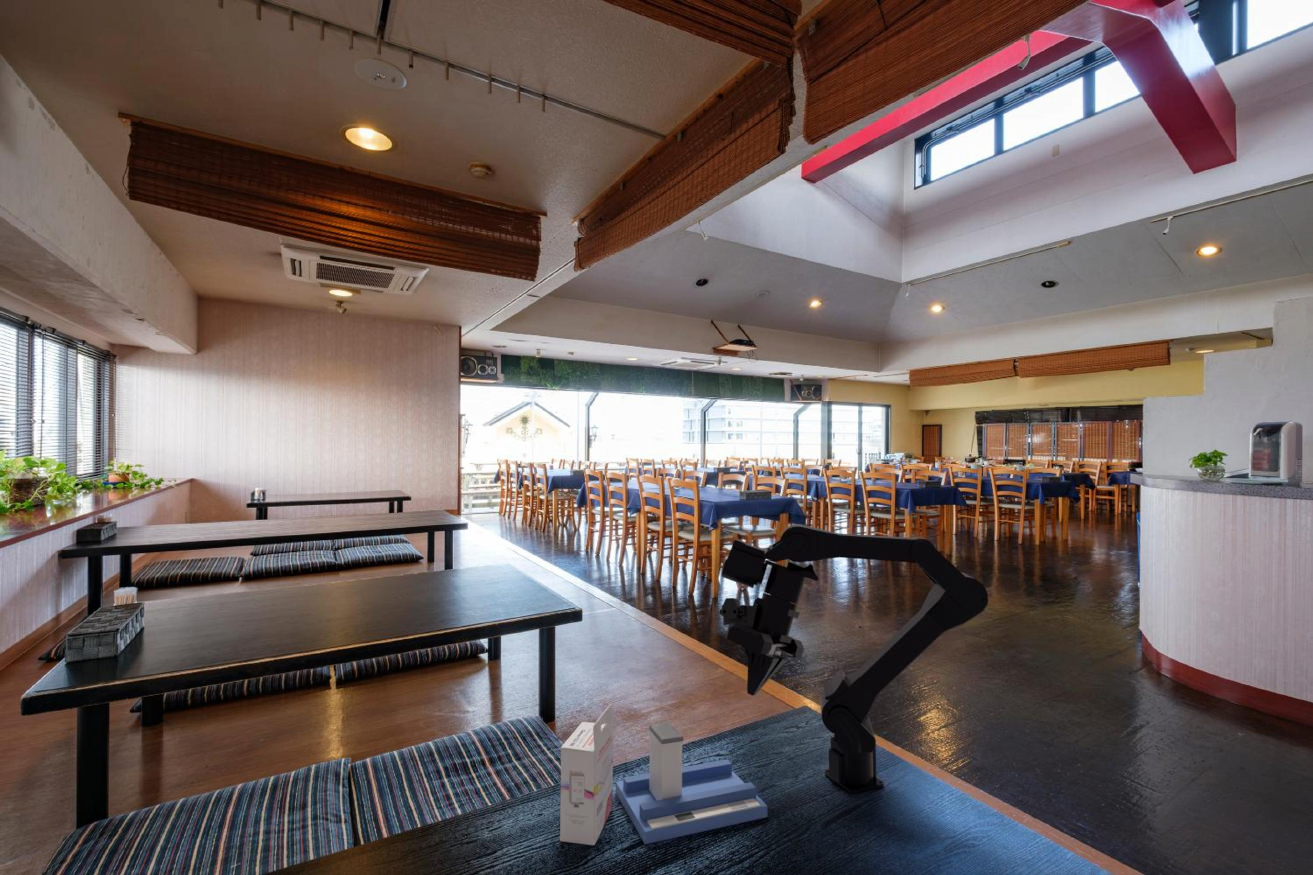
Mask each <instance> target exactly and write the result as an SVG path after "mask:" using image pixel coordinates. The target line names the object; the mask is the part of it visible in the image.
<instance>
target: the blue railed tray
mask: <svg viewBox="0 0 1313 875" xmlns="http://www.w3.org/2000/svg"><path fill="white" fill-rule="evenodd" d="M622 779H623V780H620V781H619V780H618V781H615V793H616V795H617V797H618V800H619V801H620V803H621V805H622V806H623V808H624V810H625V812H626V814H627V815H628V817H629V819H630V821H631V822H632V824H633V827H634V828H635V830H636V831H637V833H638V835H639V836H640V839H641V840H642V842H643V844H644V845H647V844H652V843H658V842H662V841H666V840H671V839H676V838H679V837H684V836H689V835H692V834H698V833H702V832H706V831H711V830H714V829H715V830H716V829H719V828H724V827H729V826H733V825H738V824H742V823H746V822H751V821H752V822H753V821H756V820H760V819H764V818H765V819H766V818H767V817H768V805H767V804H766V803H765V802H764V801H763V800H762V799H761V798H760V797H759V796H758V795H757V786H755V784H753V782H751V781H750V782H744V780H742V779H741V778H740V777H739V776H738V775H737V774H736V773H735V772H734V771H733V764H732V762H731V761H730V760H728V759H721V760H720V759H719V760H715V761H709V762H705V763H699V764H694V765H687V766H682V796H678V797H673V798H668V799H663V800H658V801H657V800H656V799H655V797H654V796H653V794H652V793H651V791H650V790H649V772H648V773H641V774H637V775H636V774H635V775H632V776H631V775H629V776H626V777H623V778H622Z"/></svg>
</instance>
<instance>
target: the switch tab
mask: <svg viewBox="0 0 1313 875" xmlns="http://www.w3.org/2000/svg"><path fill="white" fill-rule="evenodd" d="M648 729H649V762H648V763H649V767H648V768H649V772H648V773H649V790H650V791H651V793H652V794H653V796H654V797H655V799H656V800H657V801H658V800H663V799H668V798H673V797H678V796H682V767H683V741H684V735H682V733H681V732H679V730H678V729H677V728H676V727H675V726H674V725H673V724H672V723H671V722H670V721H667V722H659V723H653V724H652V723H651V724H648Z"/></svg>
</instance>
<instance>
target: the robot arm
mask: <svg viewBox="0 0 1313 875" xmlns="http://www.w3.org/2000/svg"><path fill="white" fill-rule="evenodd" d="M837 558H843V559H844V558H845V559H855V560H856V559H857V560H870V561H871V560H872V561H883V562H884V561H887V562H900V563H913V564H915V565H916V566H917V567H918V568H919V569H920V570H921V571H922V572H923V573H924V575H926V577H927V578H928V579H929V580H930V581H931V582H932V583H933V584H934V585H933V586H932V588H931V589H930V590H929V592H928V594H927V596H926V599H925V600H924V602H923V604H922V607H921V608H920V609H919V611H917V613H916V614H914V616H912V618H911V619H909V621H907V622H906V623H905V624H904V625H903V626H902V627H901V628H900V629H899V630H898V631H897V632H896V633H895V634H894V635H893V636H891V638H890V639H889V640H888V641H886V643H885V644H883V645H882V646H881V647H880V649H878V650H877V651H876V652H875V653H874V654H873V655H872V656H871V657H870V658H869V659H868V660H867V661H866V662H865V663H864V664H862V666H861V667H860V668H858V669H857V670H855V671H853V672H851V673H848V674H846V673H845V672H844V670H843V669H842V668H839V669H838V670H837V671H836V673H835V674H834V675H833V676H832V678H831V679H829V680H828V681H826V682H823V683H822V687H823V690H822V691H821V693H820V698H819V702H820V715H821V720H822V722H823V725H824V727H825V728H826V729H827V730H828V731H829V732H831V734H833V735H834V736H831V737H830V748H828V769H827V768H826V769H825V770H824V775H826V776H827V777H828V778H829V779H831V780H832V781H833V782H835V783H836V784H838V786H840V787H841V788H842V789H844V790H846V791H847V793H850V794H856V793H860V792H864V791H865V792H866V791H869V790H873V789H879V788H883V787H885V782H884V781H883V780H881V779H880V778H879V777H877V740H876V736H875V733H874V730H873V726H872V723H871V720H870V717H869V713H870V711H871V709H872V707H873V705H874V703H875V701H876V699H877V697H878V696H879V694H881V693H882V691H883V690H884V689H886V688H887V687H888V686H889V685H890V684H892V683H893V681H894V680H895V679H896V678H897V677H898V676H899V675H900V674H902V673H903V672H904V671H905V670H906V669H907V668H908V667H910V665H911V664H912V663H913V662H914V661H915V660H917V658H919V656H920V655H922V654H923V653H924V652H925V651H926V650H927V649H928V648H929V647H930V646H931V645H932V644H933V643H934V642H935V641H936V640H937V639H939V637H941V635H943V634H944V633H946V632H948V631H949V630H952V629H955V628H958V627H960V626H962V625H965V624H966V623H968V622H969V621H971V620H972V619H974V618H976V617H977V616H979V615H980V614H981V613H984V611H985V609H986V608H987V607H988V605H989V594H988V591H987V589H986V587H985V586H984V584H983V583H982V582H980V581H979V580H978V579H976V578H975V577H972V576H970V575H969V574H966V573H965V572H962V571H960V569H958V568H957V567H956V566H955V565H954V564H953V563H951V561H950V560H948V558H946V557H945V556H944V555H943V554H942V553H941V552H940V551H938V549H937V548H936V547H935V545H934V544H933V542H931V541H929V540H928V539H926V538H924V537H921V536H913V537H906V536H905V537H902V536H888V535H885V536H884V535H872V534H869V535H867V534H853V533H840V532H839V533H837V532H833V531H830V530H826V529H821V528H818V527H814V526H810V525H805V524H801V523H794V524H790V525H789V526H787V527H786V528H785V529H784V530H783V532H782V533H781V535H780V539H779V540H778V541H776V542H774V543H773V544H772V545H771V544H770V545H769V546H768V547H767V548H766V549H763V548H760V547H758V546H755V545H751V544H749V543H746V542H745V541H744V540H741V539H738V538H735V539H734V540H733V543H732V546H731V548H730V550H729V553H728V555H727V557H726V558H725V562H724V563H723V564H724V565H723V568H722V572H721V577H722V578H723V579H726V580H729V581H732V582H735V583H738V584H740V585H743V586H746V587H748V588H751V589H754V587H755V586H758V585H761V586H762V585H763V581H764V577H765V575H766V571H767V568H768V566H771V568H770V570H769V571H770V572H769V574H768V577H767V579H766V580H767V581H766V583H765V587H764V590H763V593H762V595H761V596H762V597H756V598H755V599H754V600H753V604H752V605H749V604H747V605H746V604H741V603H740V601H739V599H737V598H734V597H726V598H725V599H724V601H723V603H722V604H721V609H720V610H719V611H718V612H719V615H721V616H722V626H728V627H727V630H726V633H725V636H724V637H725V639H726V640H729V641H730V642H732V643H735V644H737V645H739V646H740V647H741V648H742V649H743V651H744V653H745V655H746V657H747V681H746V682H747V683H746V684H747V685H746V686H747V687H746V691H747V692H746V693H747V694H748V695H750V696H756V695H757V694H758V693H759V691H760V690H761V689H762V688H763V687H764V686H765V685H766V683H767V682H768V681H769V680H770V679H771V678H772V677H773V676H774V675H775V674H776V673H777V672H778V670H779V669H780V668H781V667H782V666H784V664H785V663H787V662H788V661H789V659H788V658H787V657H784V656H781V654H782V652H784V653H786V654H789V655H791V656H792V658H795V659H799V660H800V659H802V657H803V653H804V649H805V647H804V645H803V643H802V640H800V639H797V638H795V637H794V636H793V637H792V636H790V635H789V634H790V632H791V627H792V625H793V621H794V618H795V619H799V615H800V612H798V611H797V608H798V605H799V601H800V599H801V595H802V591H803V590H804V589H803V588H804V586H805V581H806V580H810V581H813V582H817V581H818V580H819V576H818V575H817V574H816V572H815V569H814V566H813V564H809V565H807V566H803V565H800V564H797V563H804V562H805V563H806V562H807V563H808V562H816V561H824V560H829V559H837ZM786 560H788V562H787V564H786V566H784V565H781V564H779V563H778V562H782V561H786ZM794 562H795V563H794Z"/></svg>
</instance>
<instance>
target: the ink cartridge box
mask: <svg viewBox="0 0 1313 875" xmlns="http://www.w3.org/2000/svg"><path fill="white" fill-rule="evenodd" d="M613 718H614V717H613V706H612V703H610V704H609V705H608V706H607V707H606V709H605V710H604V711H603V712H602V714H601V715H600V716H599V717H598V719H597V720H596V721H595V722H588V721H581V723H580V724H579V725H578V727H577V728H576V729H575V730H574V731H573V732H572V734H570V736H569V737H568V739H567V740H566V741H565V742H563V744H562V745H561V747H560V812H559V813H560V814H559V815H560V819H559V821H560V823H559V824H560V826H559V828H560V829H559V830H560V832H559V833H560V834H559V841H560V842H564V843H573V844H579V845H580V844H581V845H587V846H595V845H596V843H597V841H598V839H599V837H600V835H601V833H602V831H603V829H604V826H605V824H606V822H607V821H608V818H609V816H610V814H611V811H612V810H613V782H614V781H613V778H614V777H613V776H614V775H613V773H614V756H613V755H614V720H613ZM604 721H605V723H604Z"/></svg>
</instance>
